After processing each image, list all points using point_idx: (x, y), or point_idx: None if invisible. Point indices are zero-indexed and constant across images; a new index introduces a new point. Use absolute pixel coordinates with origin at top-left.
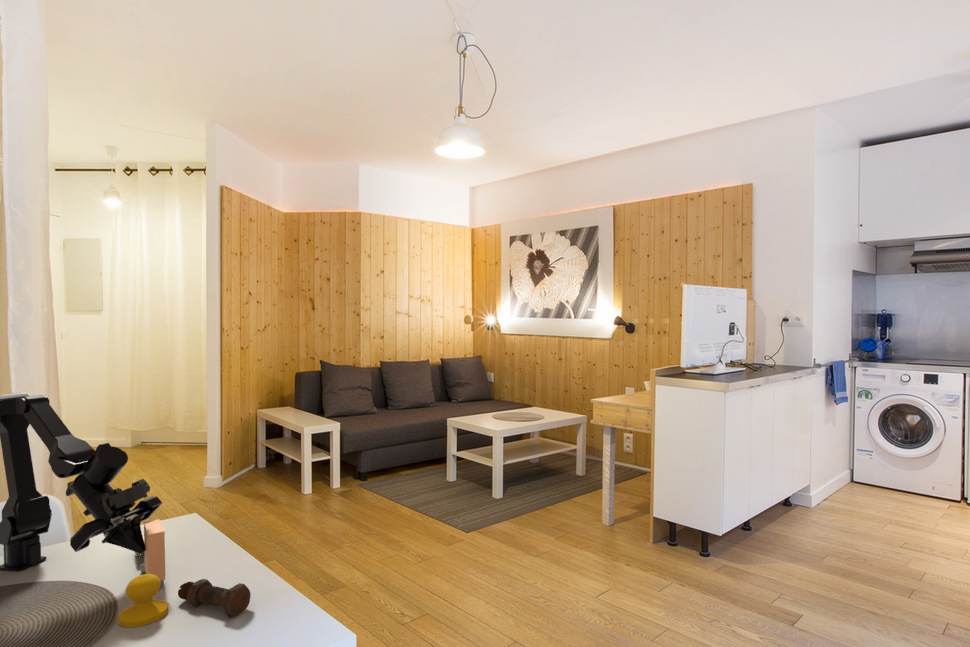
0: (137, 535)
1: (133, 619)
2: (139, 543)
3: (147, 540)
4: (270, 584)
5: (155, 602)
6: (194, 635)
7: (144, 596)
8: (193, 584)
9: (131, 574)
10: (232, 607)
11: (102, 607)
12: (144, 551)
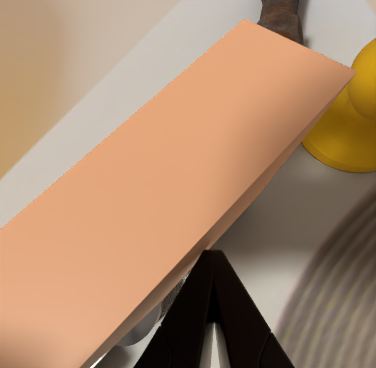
0: (204, 337)
1: None
2: (223, 282)
3: (311, 127)
4: (179, 16)
5: (337, 103)
6: (361, 9)
7: None
8: (296, 22)
9: None
10: None
11: (362, 264)
12: (144, 316)
